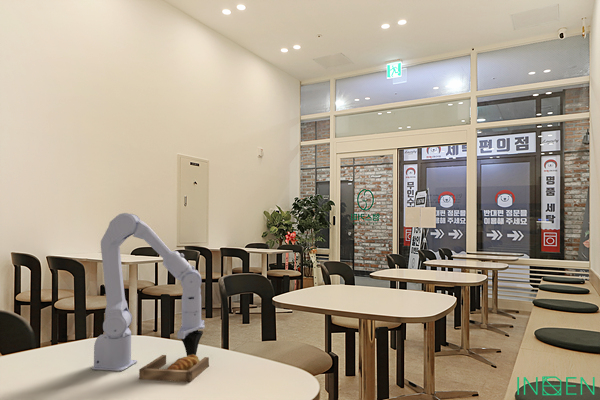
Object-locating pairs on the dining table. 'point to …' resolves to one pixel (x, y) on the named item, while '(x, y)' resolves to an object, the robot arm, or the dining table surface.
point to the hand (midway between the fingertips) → (191, 356)
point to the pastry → (184, 363)
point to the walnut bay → (171, 371)
